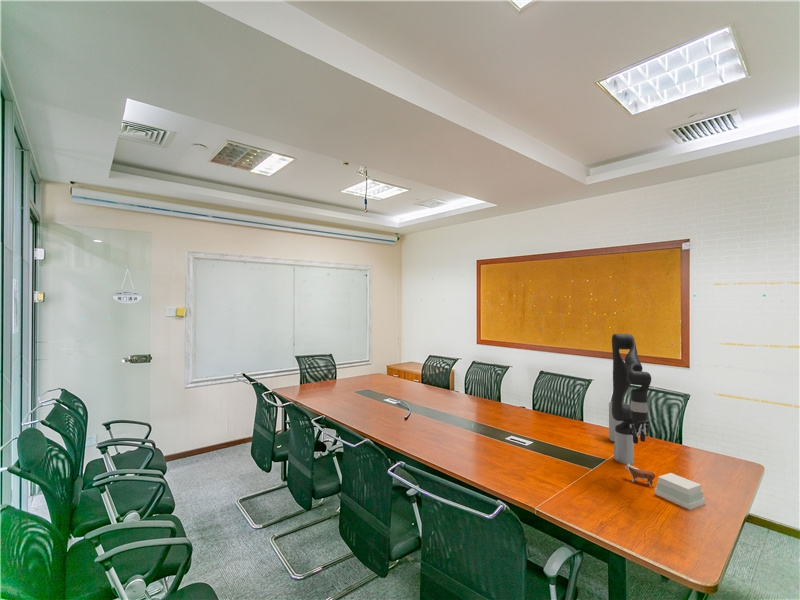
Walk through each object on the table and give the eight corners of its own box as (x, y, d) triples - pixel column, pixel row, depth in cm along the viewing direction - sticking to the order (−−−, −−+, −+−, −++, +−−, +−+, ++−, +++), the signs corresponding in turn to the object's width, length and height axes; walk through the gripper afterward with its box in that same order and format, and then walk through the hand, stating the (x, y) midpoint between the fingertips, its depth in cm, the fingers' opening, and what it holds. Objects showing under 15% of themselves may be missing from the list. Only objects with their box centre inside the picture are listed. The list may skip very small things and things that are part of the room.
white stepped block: (654, 494, 176) (654, 476, 176) (669, 489, 181) (669, 471, 181) (690, 510, 162) (689, 490, 162) (705, 504, 167) (704, 485, 167)
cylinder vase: (632, 440, 245) (632, 403, 245) (628, 446, 236) (628, 407, 236) (611, 436, 253) (611, 400, 254) (607, 441, 244) (606, 404, 244)
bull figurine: (625, 476, 194) (625, 461, 194) (655, 486, 184) (655, 470, 184) (623, 479, 191) (623, 464, 191) (653, 489, 181) (653, 472, 181)
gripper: (640, 406, 194) (640, 437, 194) (622, 409, 188) (623, 442, 188) (655, 410, 187) (655, 442, 187) (637, 413, 181) (637, 447, 181)
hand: (639, 442), depth 187 cm, fingers open, 5 cm apart
